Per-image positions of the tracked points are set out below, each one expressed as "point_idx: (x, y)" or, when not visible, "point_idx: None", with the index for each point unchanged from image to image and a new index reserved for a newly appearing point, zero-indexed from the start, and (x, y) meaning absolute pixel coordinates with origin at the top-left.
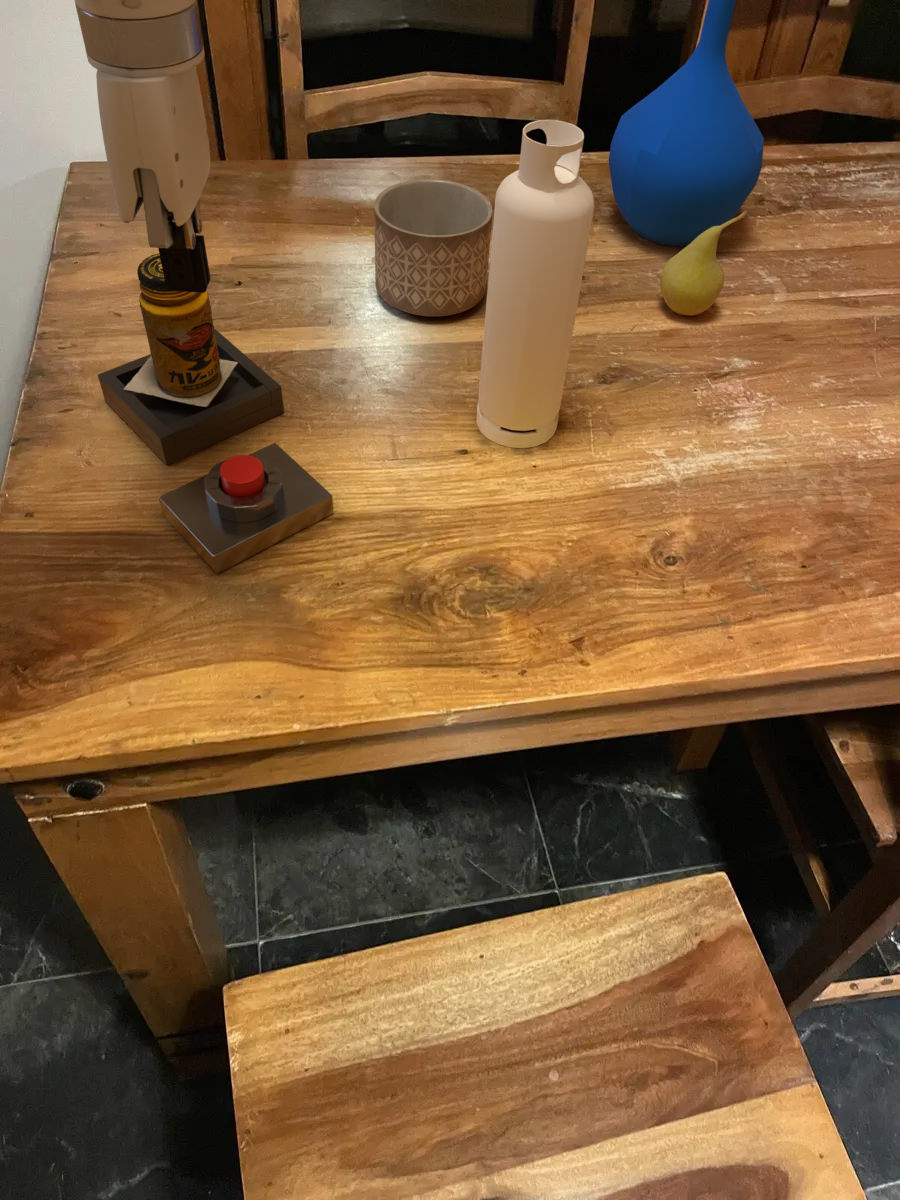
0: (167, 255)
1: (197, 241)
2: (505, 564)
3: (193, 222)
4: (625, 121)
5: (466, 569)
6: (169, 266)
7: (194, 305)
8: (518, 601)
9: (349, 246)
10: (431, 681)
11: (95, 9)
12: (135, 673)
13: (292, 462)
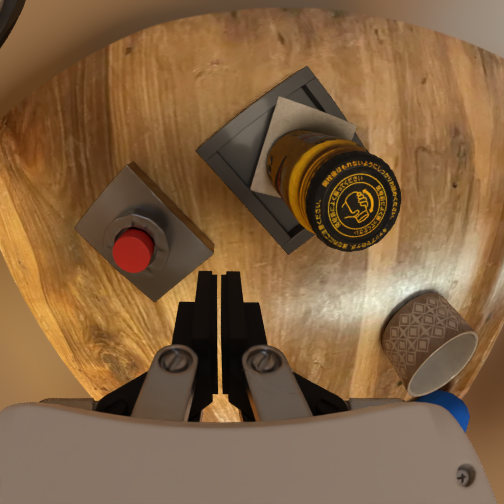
0: (172, 344)
1: (223, 393)
2: (141, 373)
3: (241, 419)
4: (459, 421)
5: (131, 358)
6: (176, 324)
7: (307, 227)
8: (118, 374)
9: (472, 263)
10: (58, 338)
11: None
12: (11, 191)
13: (188, 271)
